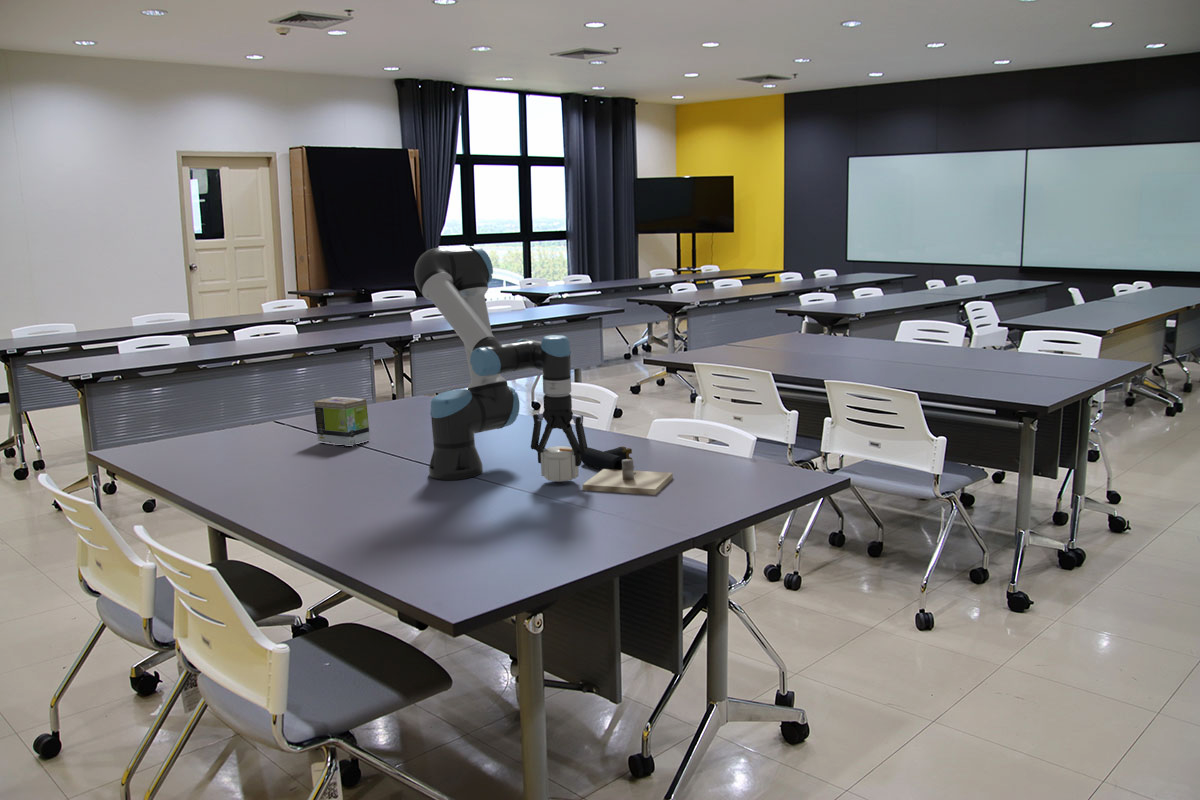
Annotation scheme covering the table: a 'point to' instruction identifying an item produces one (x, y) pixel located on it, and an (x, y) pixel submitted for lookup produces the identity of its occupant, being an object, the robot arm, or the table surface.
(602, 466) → the pipe connector
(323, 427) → the tea box
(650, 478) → the shaft base
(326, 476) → the table surface
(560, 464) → the knob
